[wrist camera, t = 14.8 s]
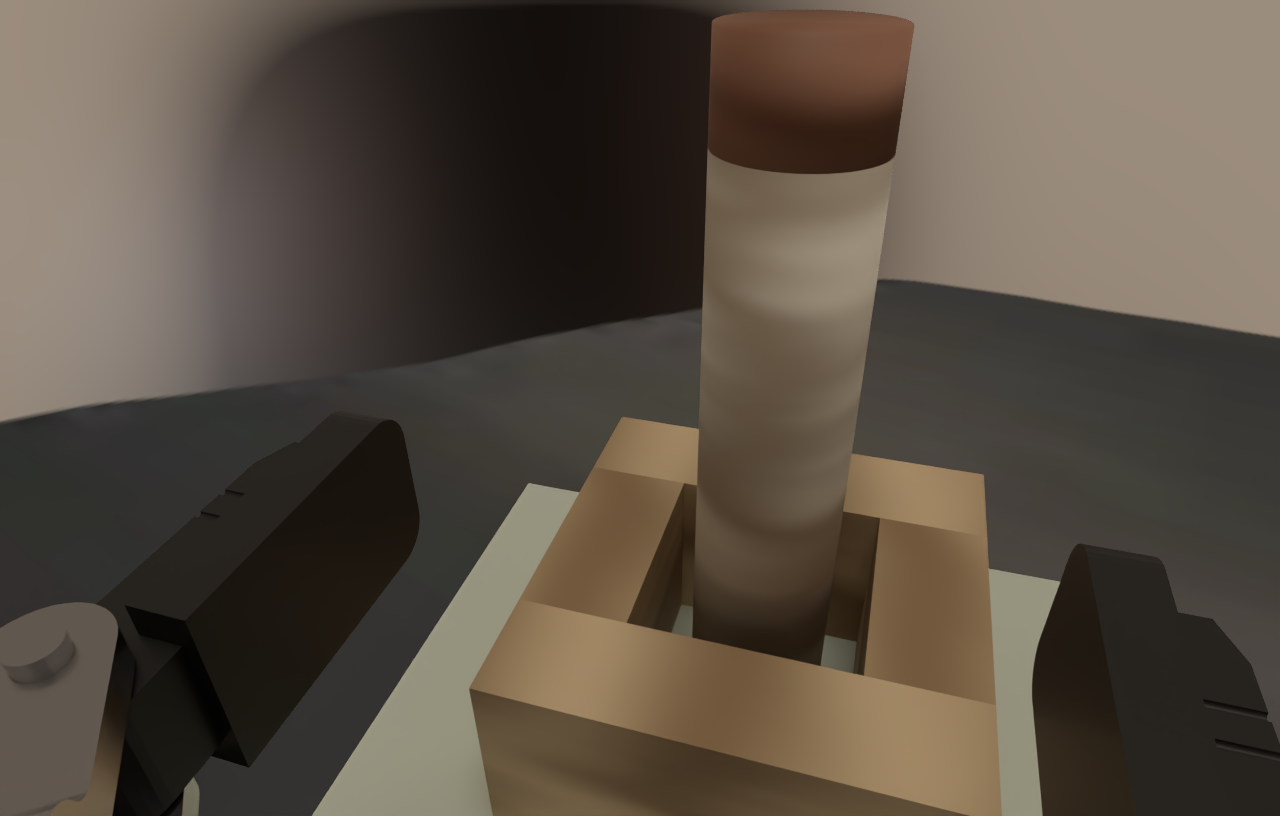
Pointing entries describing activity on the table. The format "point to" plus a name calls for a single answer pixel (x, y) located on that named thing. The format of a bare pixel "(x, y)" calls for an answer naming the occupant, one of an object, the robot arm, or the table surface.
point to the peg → (787, 309)
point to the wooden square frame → (745, 660)
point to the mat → (458, 645)
